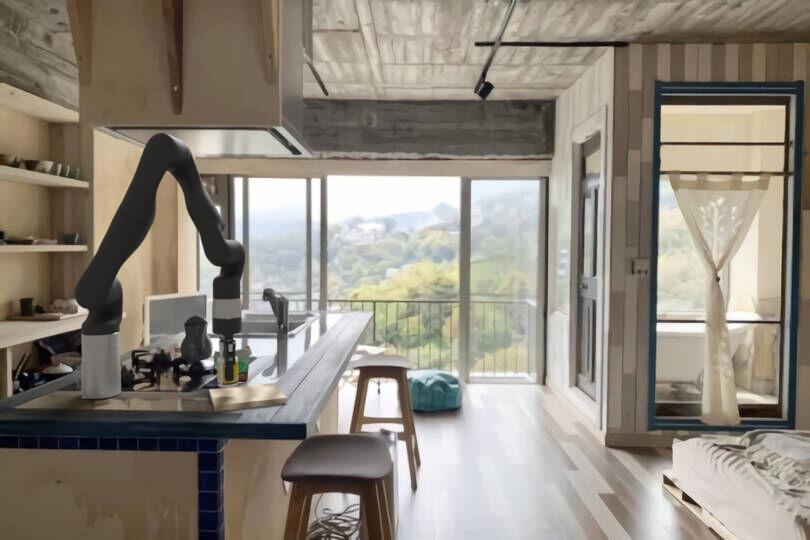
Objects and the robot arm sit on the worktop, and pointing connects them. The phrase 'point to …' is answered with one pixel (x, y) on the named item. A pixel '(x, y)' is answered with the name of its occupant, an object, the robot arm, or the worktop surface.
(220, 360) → the supplement bottle
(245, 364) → the food container
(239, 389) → the birch board
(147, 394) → the worktop surface
